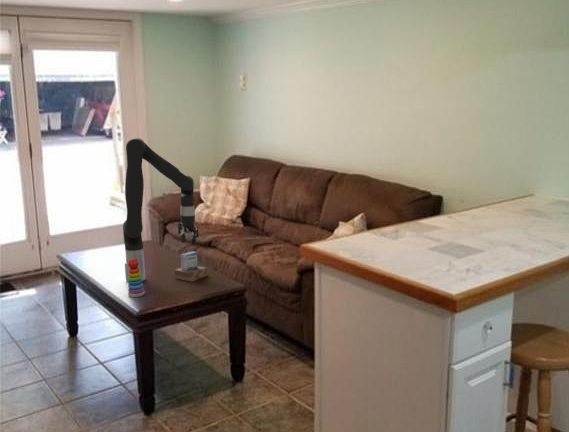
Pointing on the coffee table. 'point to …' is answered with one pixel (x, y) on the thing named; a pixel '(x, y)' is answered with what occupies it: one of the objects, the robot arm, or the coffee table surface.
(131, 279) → the stacking toy
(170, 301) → the coffee table surface
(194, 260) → the medicine box
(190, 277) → the tan square block
